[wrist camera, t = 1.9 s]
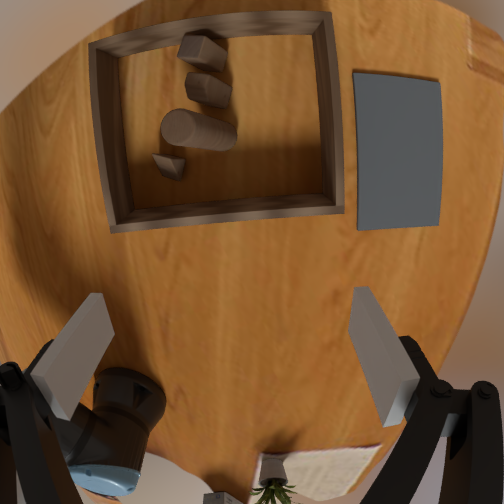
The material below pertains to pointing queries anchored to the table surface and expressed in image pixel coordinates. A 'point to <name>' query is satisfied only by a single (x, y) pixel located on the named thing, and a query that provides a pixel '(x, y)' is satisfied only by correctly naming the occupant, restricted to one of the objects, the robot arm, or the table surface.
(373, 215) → the mat
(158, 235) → the table surface
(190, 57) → the wooden block set
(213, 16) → the crate
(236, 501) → the hard drive box
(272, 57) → the table surface
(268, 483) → the house plant
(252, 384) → the table surface
